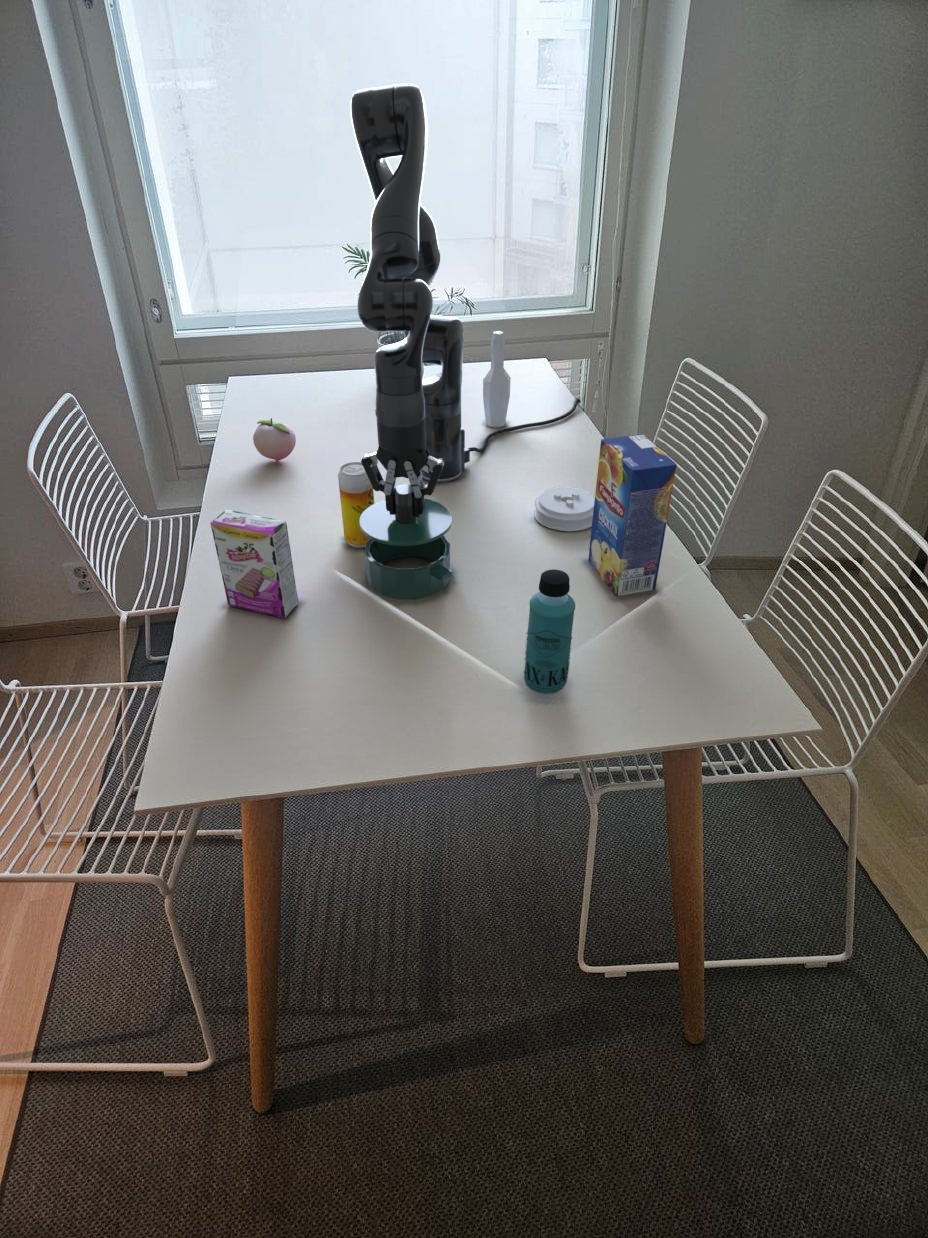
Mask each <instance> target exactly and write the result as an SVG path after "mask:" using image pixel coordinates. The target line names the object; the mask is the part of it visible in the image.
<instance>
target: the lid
mask: <svg viewBox="0 0 928 1238" xmlns="http://www.w3.org/2000/svg"><path fill="white" fill-rule="evenodd" d="M594 501H595V495H593V494H592V493H591V492H589V491H587V490H585V489H584V488H580V487H574V486H555V487H551V488H548V489H546V490H544V491H543V492H540V493H539V494H538V495H537V496H536V497H535V499H534V507H535V508H534V510H533V516H534V518H535V520H536V521H537V523H539V524H541V525H542V526H544V527H546V528H549V529H551V530H555V531H561V532H578V531H583V530H587V529H590V528H592V520H593V511H594Z"/></svg>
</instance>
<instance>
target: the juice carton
mask: <svg viewBox="0 0 928 1238" xmlns="http://www.w3.org/2000/svg"><path fill="white" fill-rule="evenodd" d="M677 465H678V464H677V463H676V462H675V461H674V460H672V458H670V456H668V455H667V454H666V453H665V452H664V451H662V450H661V449H660V448H659V447H658V446H657V445H655V444H654V443H653V442H652V441H651V440H650V439H649V438H648V437H646V435H644V434H643V433H641V434H634V435H633V434H632V435H626V436H617V437H609V438H601V439H600V446H599V456H598V464H597V473H596V474H597V475H596V483H595V493H594V497H595V501H594V511H593V520H592V526H591V530H590V540H589V550H588V557H587V561H588V562H589V563H590V565H591V566H592V567H593V569H594V570H595V571H596V572H597V574H598V576H599V577H600V578H601V579H602V581H603V582H604V583H605V584H606V585H607V587H608V588H609V589H610V591H611V592H612V593H613V595H614V596H615V597H618V596H624V595H630V594H635V593H642V592H646V591H647V592H648V591H652V590H656V587H657V581H658V577H659V570H660V564H661V558H662V552H663V547H664V541H665V535H666V529H667V524H668V518H669V512H670V507H671V500H672V494H673V488H674V482H675V476H676V472H677Z"/></svg>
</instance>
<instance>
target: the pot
mask: <svg viewBox="0 0 928 1238" xmlns="http://www.w3.org/2000/svg"><path fill="white" fill-rule="evenodd" d="M366 538H368V539H370V538H369V537H367V536H366ZM364 548H365V549H364V563H365V574H366V581H367V584H368V585H369V587H370V589H371V590H373V591H374V592H376V593H377V594H379V595H380V596H382V597H386V598H390V599H394V600H398V601H399V600H401V601H404V600H407V601H408V600H409V601H410V600H411V601H413V600H414V601H415V600H419V599H424V598H429V597H432V596H433V595H436V594H438V593H439V592H441V591H443V590H445V588H446V587H447V585H448V584H449V583H450V581H451V578H453V576H454V572H453V570H451V543H450V541H449V540H448V538H447V537H446V536H445V534H444V535H443V536H442V537H440V538H438V539H436V540H434V541H431V542H428V543H424V544H419V545H412V546H395V545H388V544H383V543H379V542H377V541H374V540H372V539H370V540H369V541H368V542H367V543H366V547H364ZM401 557H421V558H426V559H428V560H431V561H433V562H431V563H429V564H428V565H424V566H419V567H415V568H396V567H393V566H387V565H384V564H383V563H385V562H387V561H389V560H391V559H392V560H393V559H396V558H401Z"/></svg>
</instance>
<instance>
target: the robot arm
mask: <svg viewBox="0 0 928 1238" xmlns="http://www.w3.org/2000/svg"><path fill="white" fill-rule="evenodd" d="M350 119H351V123H352V124H351V125H352V129H353V133H354V134H353V135H354V138H355V141H356V145H357V149H358V151H359V154H360V157H361V160H362V164H363V167H364V171H365V173H366V176H367V179H368V183H369V186H370V189H371V193H372V196H373V199H374V207H373V209H372V212H371V218H370V253H369V254H370V255H369V261H368V265H367V268H366V272H365V275H364V277H363V280H362V283H361V285H360V289H359V292H358V297H357V314H358V318H359V320H360V322H361V324H362V325H363V326H364V328H366V329H367V330H368V331H369V332H373V333H374V332H375V333H390V332H391V333H395V332H396V333H397V332H399V333H403V337H404V339H403V340H401V341H398V342H395V343H390V344H386V345H384V346H381V347H379V348H378V349H377V350H376V351H375V354H374V373H375V374H374V376H375V409H374V410H375V411H374V412H375V416H376V427H377V428H376V430H377V444H378V447H377V450H376V451H375V452H370V451H366V452H365V454H364V455H363V457H362V458H361V460H360V462H361V463H362V465H363V467H364V470H365V472H366V474H367V476H368V478H369V480H370V483H371V485H372V487H373V491H375V492H379V491H380V492H382V493H383V494H384V497H385V498H384V500H386V509H387V511H390V515H395V507H394V488H395V487H396V481H397V478H405V479H408V482H409V485H411V486H412V488H413V491H414V495H415V497H414V516H415V517H419V516H420V514H422V513H423V511H424V509H425V499H426V498H425V496H428V497H429V496H430V497H431V496H432V495H433V493H434V490H435V489H436V487H437V484H438V483H449V482H452V481H456V480H457V479H459V478H460V477H461V476H462V474H463V472H465V471H466V467H465V466H466V464H467V463H469V462H471V461H470V460H471V459H470V458H471V457H470V455H471V452H476V453H482V452H484V451H485V449H486V447H487V445H488V442H489V440H490V439H492V438H493V437H496V436H497V435H500V434H505V433H507V432H508V433H509V432H513V431H517V430H522V429H526V428H534V427H541V426H546V425H551V424H553V423H555V422H559V421H561V420H564V419H566V418H567V417H569V416H571V415H572V414H573V413H574V412H575V410H576V409H577V407H578V404H581V402H582V401H581V399H580V398H578V397H577V398H575V399H574V402H573V405H572V407H571V409H570V410H569V411H567V412H566V413H563V414H562V415H560V416H558V417H554V418H551V419H546V420H543V421H538V422H531V423H524V424H519V425H514V426H510V427H505V428H502V429H498V430H496V431H495V430H494V432H490V433H489V434H488V435H487V436H486V437H485V438H484V440H483V442H482V445H481V447H480V448H478V447H475V446H472V447H466V445H465V444H466V439H465V438H466V431H465V429H464V428H462V386H463V385H462V384H463V362H464V361H463V360H464V344H465V343H464V341H465V340H464V339H465V336H464V335H465V334H464V333H465V332H464V327H463V323H462V321H461V320H460V318H458V317H455V316H447V315H446V316H445V315H437V314H436V315H435V314H432V311H433V308H434V307H433V306H434V300H433V295H432V294H433V293H432V290H431V289H430V285H431V284H432V282H433V280H434V279H435V277H436V275H437V273H438V270H439V268H440V264H441V251H440V245H439V238H438V234H437V229H436V224H435V222H434V219H433V218H432V216H431V215H430V213H429V211H428V210H426V208H425V207H424V206H423V205H422V203H421V196H422V190H423V182H424V175H425V167H426V158H427V149H428V139H429V138H428V137H429V134H428V132H429V127H428V126H429V125H428V123H429V122H428V115H427V109H426V102H425V99H424V96H423V93H422V91H421V89H420V88H419V86H417V84H414V83H397V84H390V85H382V86H375V87H369V88H362V89H359V90H356V91H355V92H354V93H353V94H352V97H351V100H350ZM398 157H399V158H400V157H401V158H400V160H399V163H398V164H397V166H396V169H395V171H393V169H392V167H391V165H390V163H389V161H388V159H390V158H391V159H392V158H398ZM423 365H429V366H430V365H431V366H441V372H439V373H437V374H434V375H429V376H427V377H424V378H423ZM379 463H380V464H381V465H382V466H383V468H384V469H385V470H386V474H385V480H384V478H383V475H382V473H381V471H380V469H379V467H378V464H379ZM424 480H425V481H428V483H427V484H425V483H424Z"/></svg>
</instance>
